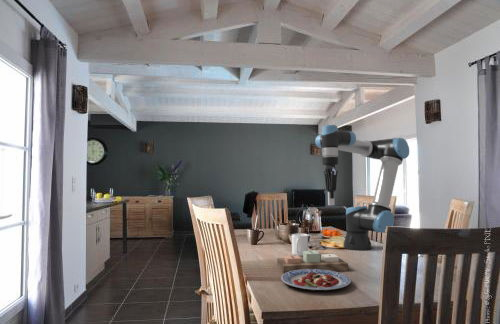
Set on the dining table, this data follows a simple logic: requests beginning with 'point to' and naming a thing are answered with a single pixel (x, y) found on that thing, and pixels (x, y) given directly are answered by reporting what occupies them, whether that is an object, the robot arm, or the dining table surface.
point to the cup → (299, 244)
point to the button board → (312, 265)
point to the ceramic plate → (316, 279)
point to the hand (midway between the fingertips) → (331, 205)
